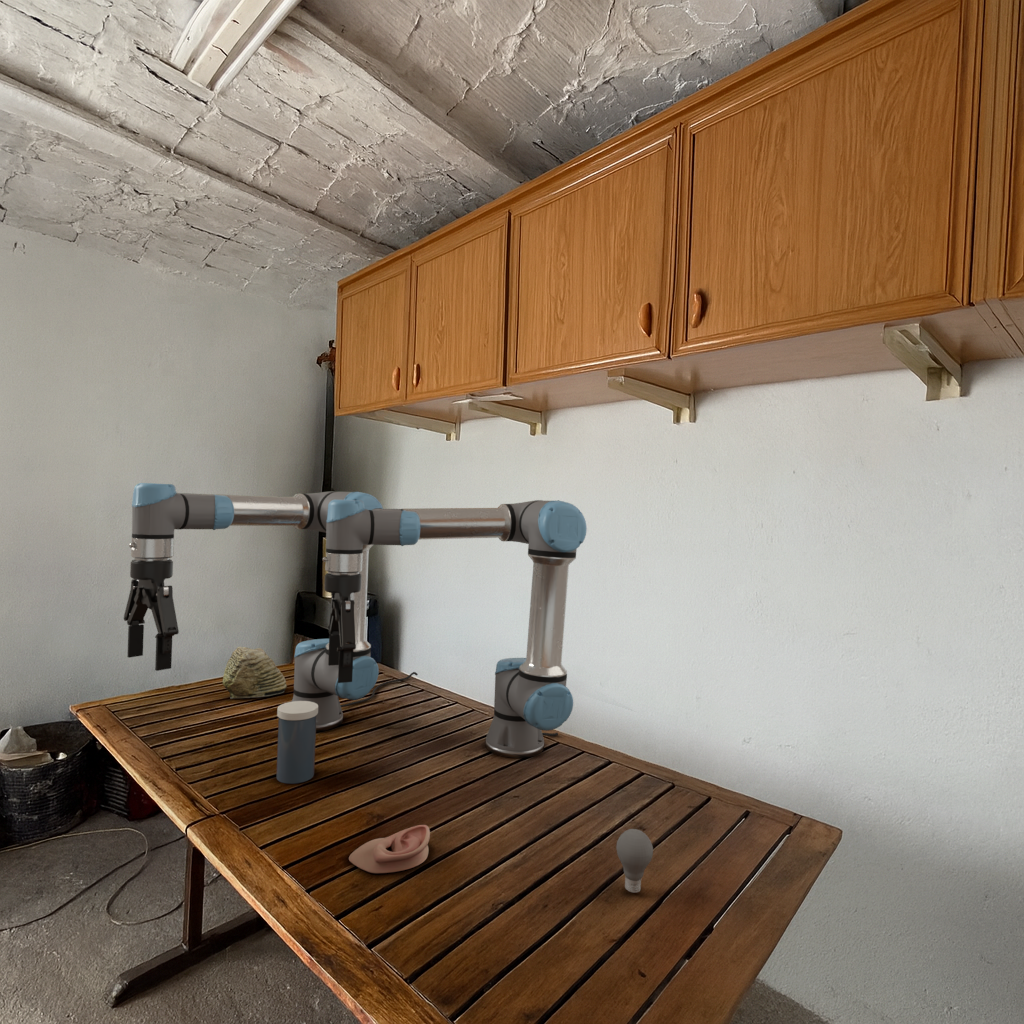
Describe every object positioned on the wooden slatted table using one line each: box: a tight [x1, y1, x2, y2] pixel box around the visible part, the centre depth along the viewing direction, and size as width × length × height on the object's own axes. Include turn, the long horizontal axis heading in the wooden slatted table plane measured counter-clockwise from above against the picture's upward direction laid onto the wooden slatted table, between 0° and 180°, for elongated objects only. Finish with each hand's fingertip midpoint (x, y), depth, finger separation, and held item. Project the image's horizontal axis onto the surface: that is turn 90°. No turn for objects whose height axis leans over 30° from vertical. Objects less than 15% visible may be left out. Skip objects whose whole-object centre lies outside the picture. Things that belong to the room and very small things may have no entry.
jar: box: [275, 715, 317, 785], centre depth 143 cm, size 8×8×15 cm
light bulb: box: [615, 828, 654, 894], centre depth 106 cm, size 6×6×10 cm
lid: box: [276, 701, 318, 720], centre depth 143 cm, size 9×9×2 cm
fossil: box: [222, 646, 288, 699], centre depth 198 cm, size 9×18×15 cm, turn 132°
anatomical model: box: [348, 824, 431, 874], centre depth 113 cm, size 13×4×12 cm
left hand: (148, 662), depth 129 cm, fingers open, 13 cm apart
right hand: (339, 673), depth 134 cm, fingers open, 13 cm apart
